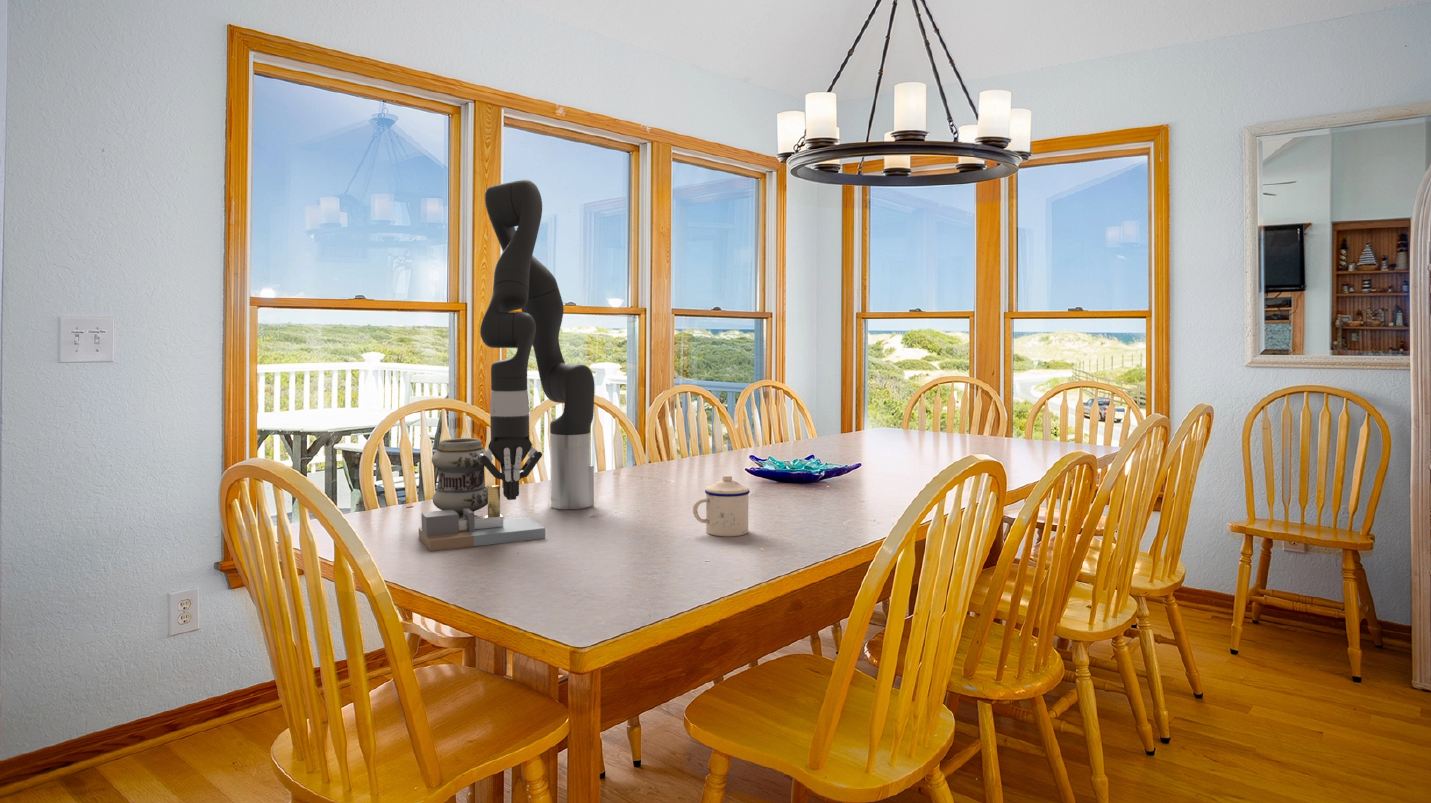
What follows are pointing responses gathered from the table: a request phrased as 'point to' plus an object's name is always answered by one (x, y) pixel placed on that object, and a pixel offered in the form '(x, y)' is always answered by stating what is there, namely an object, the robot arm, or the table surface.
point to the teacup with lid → (725, 508)
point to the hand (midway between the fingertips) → (511, 499)
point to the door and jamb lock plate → (473, 531)
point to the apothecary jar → (460, 475)
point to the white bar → (493, 512)
